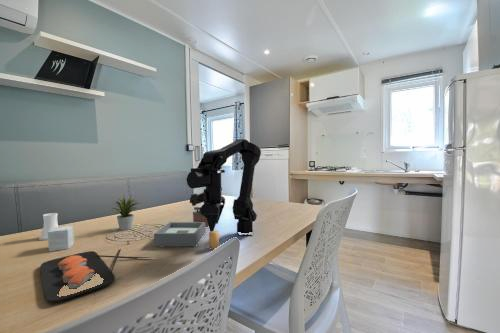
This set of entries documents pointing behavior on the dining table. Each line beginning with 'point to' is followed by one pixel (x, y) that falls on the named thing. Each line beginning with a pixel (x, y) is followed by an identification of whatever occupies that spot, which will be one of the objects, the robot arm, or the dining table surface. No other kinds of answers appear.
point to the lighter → (199, 216)
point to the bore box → (179, 234)
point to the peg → (213, 239)
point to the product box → (60, 238)
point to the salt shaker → (48, 224)
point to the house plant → (125, 213)
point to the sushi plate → (75, 273)
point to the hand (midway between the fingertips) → (214, 227)
